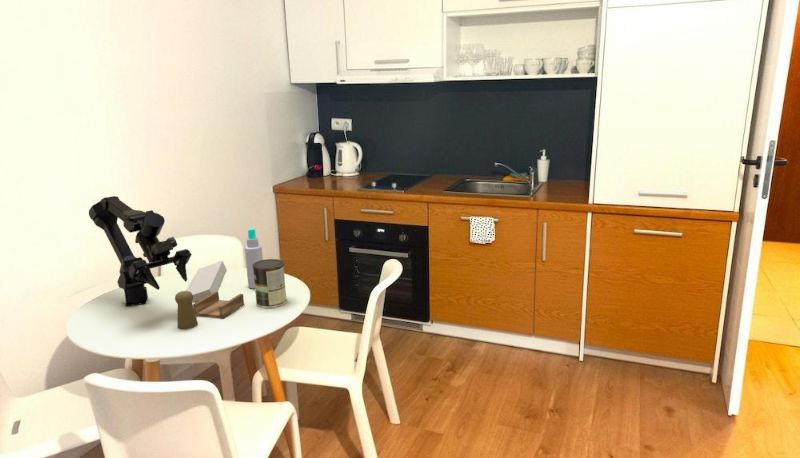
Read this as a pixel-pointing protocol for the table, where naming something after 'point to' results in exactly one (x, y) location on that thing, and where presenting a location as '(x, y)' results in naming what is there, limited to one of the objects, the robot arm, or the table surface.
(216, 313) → the tray
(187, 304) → the cork
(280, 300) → the coffee can
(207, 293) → the light grey block
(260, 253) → the spray bottle
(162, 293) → the table surface
